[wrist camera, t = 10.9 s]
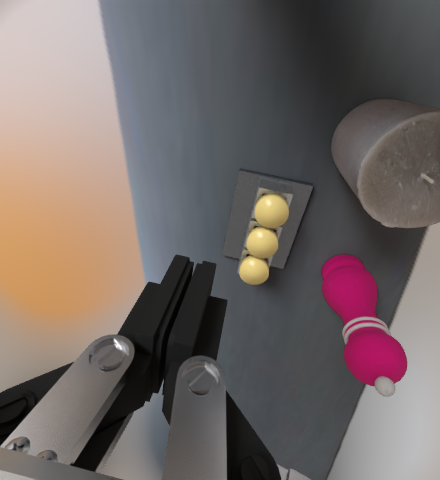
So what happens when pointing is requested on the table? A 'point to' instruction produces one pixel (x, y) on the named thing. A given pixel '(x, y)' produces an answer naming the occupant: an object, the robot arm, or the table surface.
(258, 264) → the knob
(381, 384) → the pepper mill
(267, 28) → the table surface
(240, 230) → the mount plate
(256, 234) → the knob
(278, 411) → the table surface
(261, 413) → the table surface
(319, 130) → the table surface
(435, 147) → the pillar candle
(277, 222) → the knob
